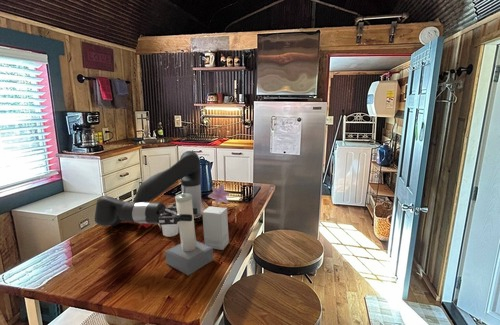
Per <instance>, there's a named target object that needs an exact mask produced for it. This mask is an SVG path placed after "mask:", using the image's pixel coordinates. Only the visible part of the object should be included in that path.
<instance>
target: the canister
mask: <svg viewBox="0 0 500 325" xmlns="http://www.w3.org/2000/svg"><path fill="white" fill-rule="evenodd" d="M174 199H175V203H176V206H177V214H190V215H192V221H181V222H178V223H179V228H178V230H179V238H180V240H179V241H180V243H181V248H182V251H185V252H189V251H193V250H195V249H196V247H197V245H196V241H197V237H196V229H195V228H196V227H195V226H196V225H195V220H194V216H193V207H192V195H191V194H189V193H182V192H181V193H179V194H177V195H175V196H174Z"/></svg>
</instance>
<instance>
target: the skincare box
mask: <svg viewBox="0 0 500 325" xmlns="http://www.w3.org/2000/svg"><path fill="white" fill-rule="evenodd" d="M228 222H229V221H228V207H219V206H212V205H211V206H210V205H209V206H208V207H207V208H205V209H204V210H202V225H203V227H202V228H203V239H204V244H205V245H208V246H210V247H212V248H213V250H218V251H219V250H220V251H224V249H225V248H226V247H227V245H229V243H230V240H229V237H230V236H229V224H228Z"/></svg>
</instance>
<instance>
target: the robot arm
mask: <svg viewBox="0 0 500 325" xmlns="http://www.w3.org/2000/svg"><path fill="white" fill-rule="evenodd" d="M200 164H201V159H200V157H199V155H198V153H196V152H195V151H193V150H187V151H184V152H183V153H182V154H181V155H180V158H179V160H178V161H177V162H175V163H174V164H173V165H172V166H170V167H169V168H167V169H164V170H163V171H160V172H157V173H156V174H154V175H152V176H150V177H149V178H147V179H146V180H144V181H143V182H141V183H140V185H139V187H138V189H137V191H136V192H135V196H134V199H133V200H132V201H124V200H121V199H117V198H115V197H112V196H108V195H106V196H105V195H104V196H101V197H99V198H98V199H97V200H96V205H95V210H94V211H95V213H94V222H95V224H96V225H99V226H102V227H106V226H108V227H109V226H110V227H116V226H118V225H120V224H121V223H123V222H125V223H126V222H129V223H151V224H154V225H155V224H156V225H159V226H162V225H169V224H177V222H181V221H192V215H190V214H177V206H176V202H173V204H172V205H170V206H165V204H164V203H163V202H154V201H153V200H155V199H156V198H157V197H159V196H160V195H162V194H163V193H164V192H165V191H167V190H168V189H170V188H171V187H172V186H174V185H175V184H176V183H177V182H178V181H179V180H180V182H181V183H180V185H181V194H182V193H189V194H191V195H192V207H193V216H194V218H195V217H198V216H200V215H201V214H202V212H203V210H202V208H203V207H202V191H201V190H202V188H201V187H202V186H201V173H200V172H201V170H200V166H201V165H200ZM151 201H152V202H151ZM202 215H203V214H202Z"/></svg>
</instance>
